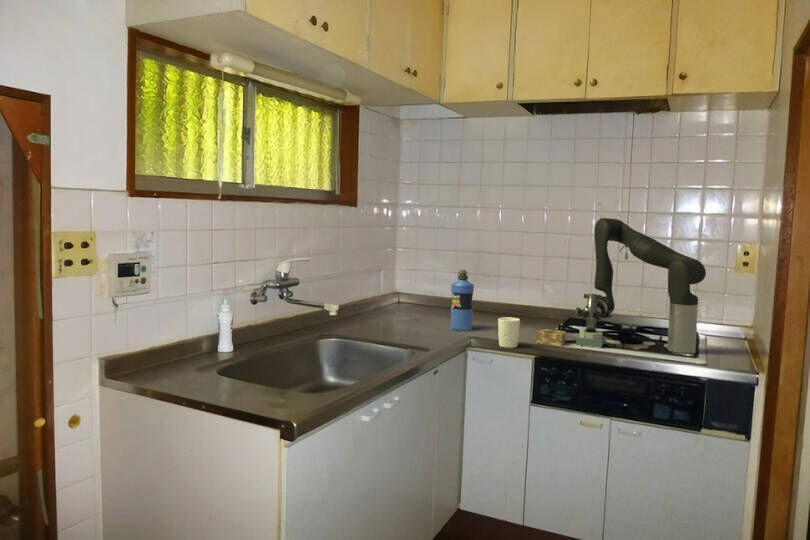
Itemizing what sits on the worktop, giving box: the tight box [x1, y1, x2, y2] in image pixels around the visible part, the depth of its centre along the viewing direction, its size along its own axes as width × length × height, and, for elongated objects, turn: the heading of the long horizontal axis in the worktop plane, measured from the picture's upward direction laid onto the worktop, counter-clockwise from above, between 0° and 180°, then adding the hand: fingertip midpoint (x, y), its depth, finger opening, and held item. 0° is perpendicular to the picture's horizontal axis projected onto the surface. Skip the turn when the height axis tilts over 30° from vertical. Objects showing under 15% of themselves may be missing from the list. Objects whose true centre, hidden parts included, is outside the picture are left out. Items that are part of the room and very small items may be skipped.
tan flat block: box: [536, 328, 567, 346], centre depth 230 cm, size 9×9×4 cm
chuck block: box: [575, 329, 621, 348], centre depth 226 cm, size 15×9×5 cm, turn 66°
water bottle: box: [450, 269, 475, 332], centre depth 253 cm, size 9×9×25 cm
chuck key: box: [583, 293, 602, 333], centre depth 227 cm, size 6×3×16 cm, turn 66°
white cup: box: [497, 316, 521, 349], centre depth 223 cm, size 8×8×10 cm
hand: (590, 315), depth 224 cm, fingers open, 3 cm apart
